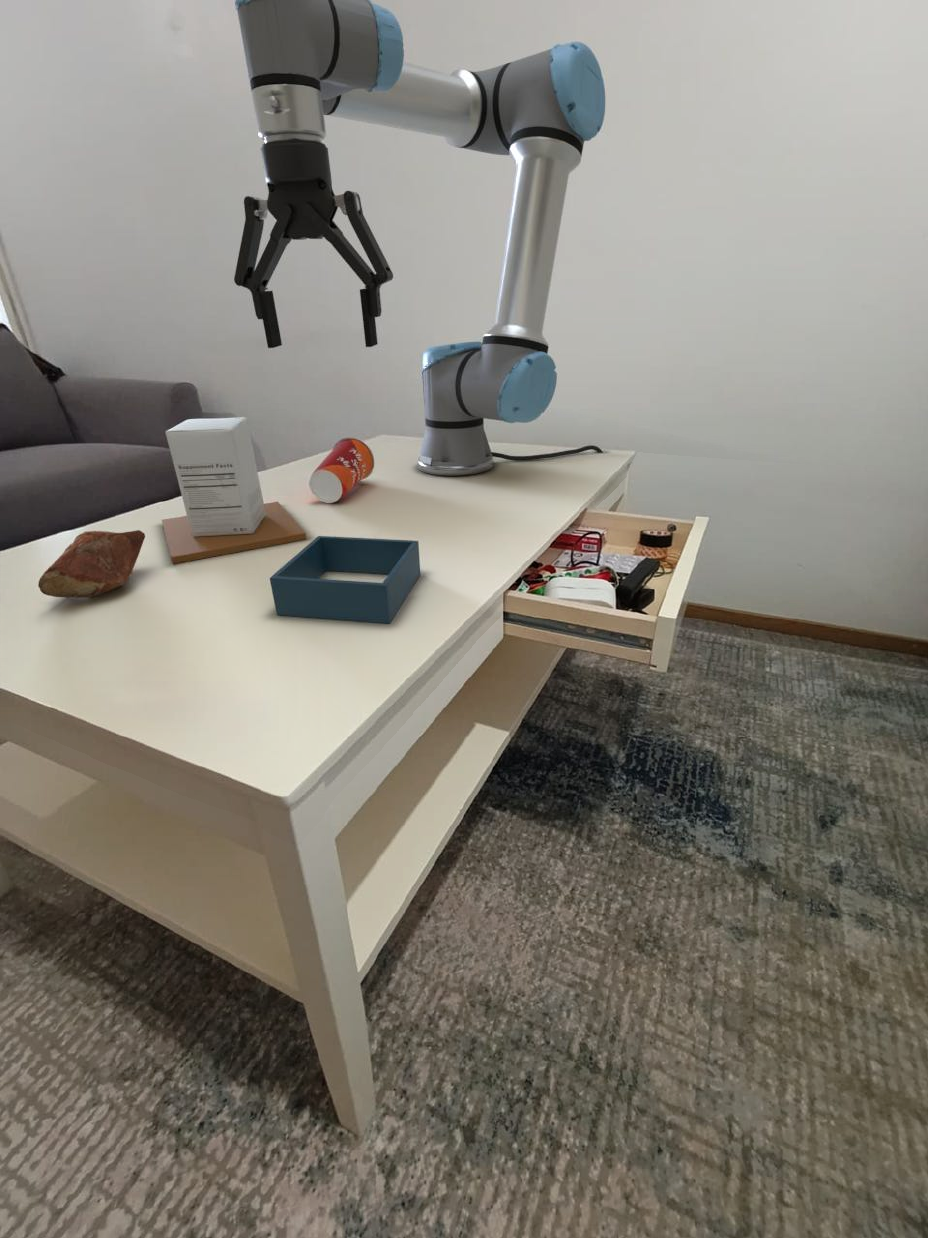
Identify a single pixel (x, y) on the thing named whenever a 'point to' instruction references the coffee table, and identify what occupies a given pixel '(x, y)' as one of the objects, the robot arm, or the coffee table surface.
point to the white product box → (217, 476)
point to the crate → (347, 599)
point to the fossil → (93, 564)
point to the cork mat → (230, 536)
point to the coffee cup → (342, 469)
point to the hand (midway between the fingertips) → (322, 346)
